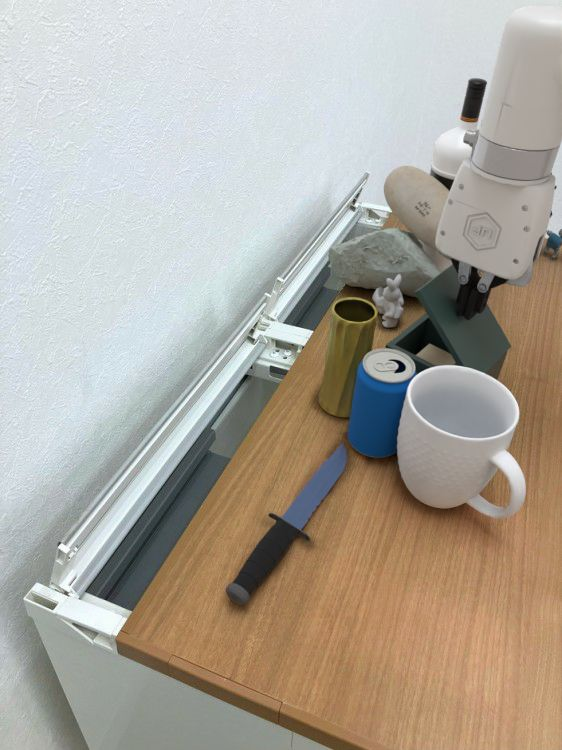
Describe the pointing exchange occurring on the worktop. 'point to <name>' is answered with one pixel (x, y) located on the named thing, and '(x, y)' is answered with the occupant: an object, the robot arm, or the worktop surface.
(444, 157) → the vodka
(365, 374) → the beverage can
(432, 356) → the block
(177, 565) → the worktop surface
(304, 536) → the knife
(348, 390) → the vase
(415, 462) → the mug
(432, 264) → the rock
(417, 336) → the chest
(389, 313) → the figurine
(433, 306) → the lid
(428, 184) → the stone
